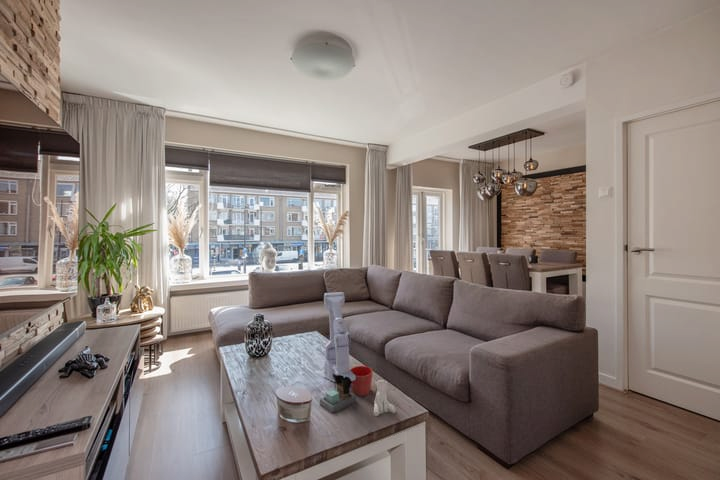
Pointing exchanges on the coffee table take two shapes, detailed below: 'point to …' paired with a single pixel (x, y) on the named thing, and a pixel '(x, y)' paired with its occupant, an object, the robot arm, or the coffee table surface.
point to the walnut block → (342, 391)
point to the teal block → (332, 397)
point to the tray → (339, 405)
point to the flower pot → (361, 380)
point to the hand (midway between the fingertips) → (343, 391)
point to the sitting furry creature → (382, 399)
